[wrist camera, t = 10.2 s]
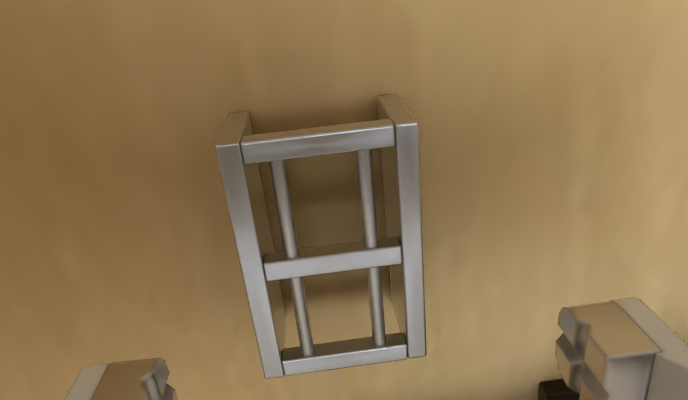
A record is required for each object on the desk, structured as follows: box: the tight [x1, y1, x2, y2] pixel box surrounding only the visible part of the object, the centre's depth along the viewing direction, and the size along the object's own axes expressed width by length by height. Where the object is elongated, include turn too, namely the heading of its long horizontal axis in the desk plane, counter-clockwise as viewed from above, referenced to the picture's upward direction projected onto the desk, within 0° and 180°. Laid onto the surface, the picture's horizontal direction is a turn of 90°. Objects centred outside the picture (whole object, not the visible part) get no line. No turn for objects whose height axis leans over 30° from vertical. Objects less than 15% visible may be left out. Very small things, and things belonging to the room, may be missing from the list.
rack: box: [215, 94, 427, 379], centre depth 15 cm, size 8×5×3 cm, turn 5°
